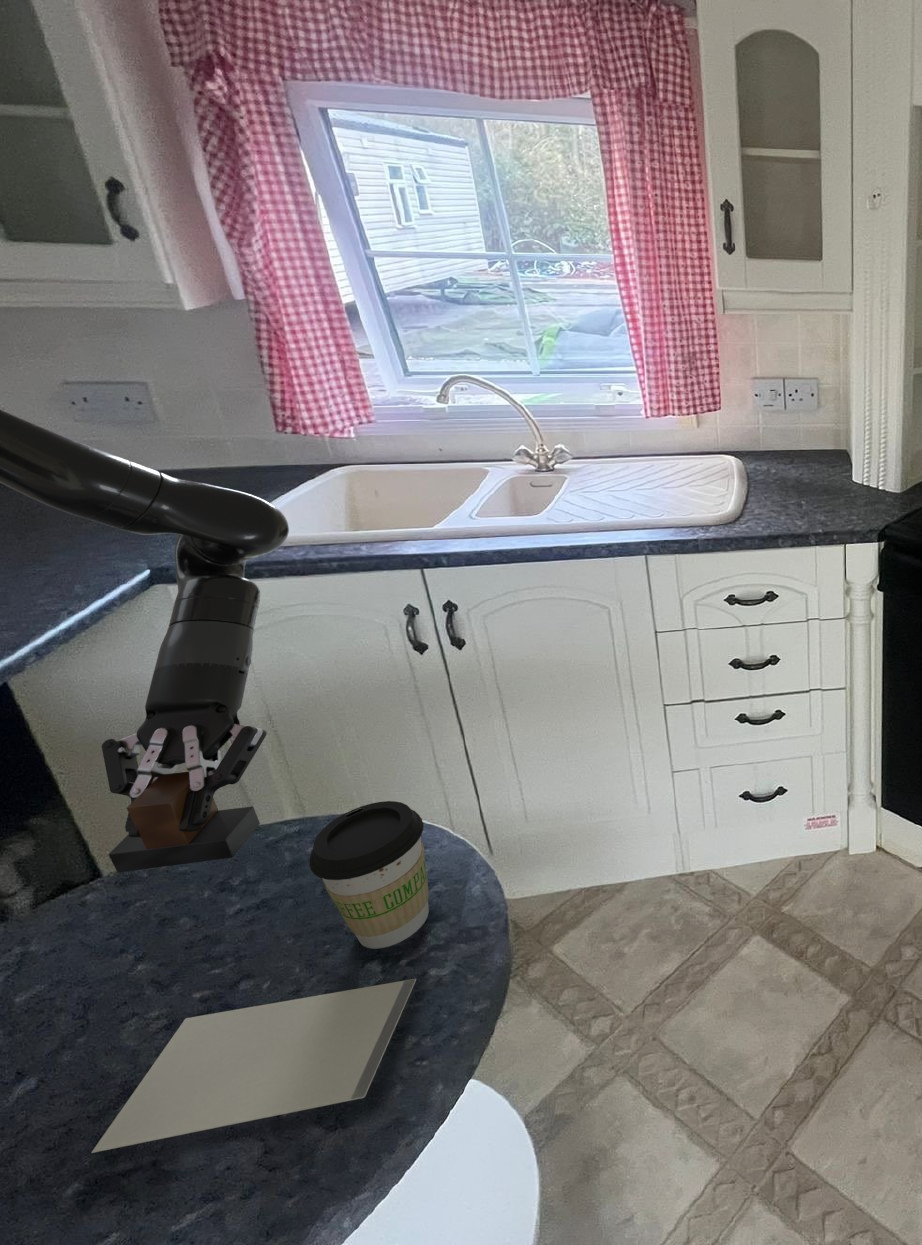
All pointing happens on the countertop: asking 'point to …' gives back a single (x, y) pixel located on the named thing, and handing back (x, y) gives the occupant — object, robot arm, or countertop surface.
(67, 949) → the countertop surface
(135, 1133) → the board
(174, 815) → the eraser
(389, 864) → the coffee cup
